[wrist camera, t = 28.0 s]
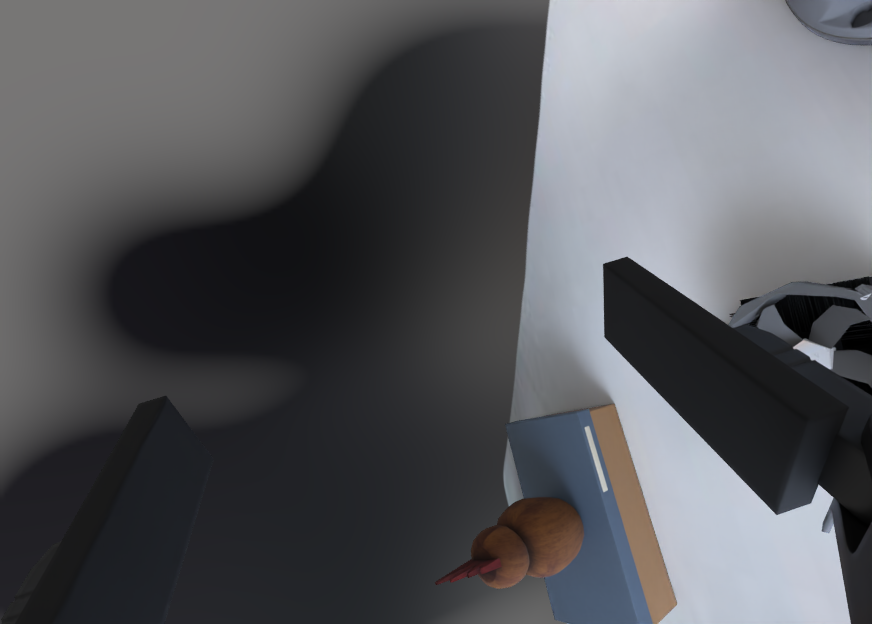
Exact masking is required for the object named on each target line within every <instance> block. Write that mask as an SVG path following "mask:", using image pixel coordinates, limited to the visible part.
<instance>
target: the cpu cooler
mask: <svg viewBox="0 0 872 624" xmlns="http://www.w3.org/2000/svg"><path fill="white" fill-rule="evenodd" d="M740 301H741V306H740V307H739V308H738V310H737V311H736V313H733V314H730V315H733V316H730V317H733V318H732V319H731V321H730V323H729V324H728V325H729V326H730V327H732V328H735V327H739V326H742V325H745V324H747V325H748V324H750V325H755V326H753V327H756V328H759V329H762V330H765V331H767V332H770V333H773V334H774V335H776V336H777V337H779V338H781V339H782V340H784V341H785V342H787V343H788V344H790V345H792V346H793V349H798V350H800V351H801V352H803V353H804V354H806V355H808V356H809V357H810V359H811V360H816V361H817V362H819V363H820V364H822V365H824V366H825V367H827V368H828V369H830V370H831V371H833V372H835V373H836V374H838V375H839V376H841V377H843V378H844V379H846V380H847V381H849V382H851V383H852V384H854V385H855V386H857V387H859V388H860V389H862V390H863V391H865V392H867V393H868V394H870V395H871V396H872V327H870V326H872V323H865V322H872V277H864V278H861V279H855V280H849V281H843V282H837V283H832V284H826V285H825V284H819V283H812V282H791V283H789V284H787V285H785V286H782V287H780V288H778V289H776V290H774V291H772V292H769V293H767V294H765V295H763V296H761V297H755V298H750V299H745V300H740ZM861 311H862V312H861ZM734 314H735V315H734ZM755 319H756V320H755ZM867 320H868V321H867ZM752 321H757V322H752ZM751 323H756V324H751ZM858 323H862V324H858ZM865 325H868V326H865ZM857 326H859V327H857ZM867 331H869V332H867ZM859 332H860V333H859ZM850 333H851V334H850Z"/></svg>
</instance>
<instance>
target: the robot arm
mask: <svg viewBox="0 0 872 624" xmlns="http://www.w3.org/2000/svg"><path fill="white" fill-rule="evenodd" d="M786 2H787V4H788V6H789V8H790V9H791V11H792V12H793V14H794V15H795V16H796V18H797V19H798V20H799V21H800V22H801V23H802V25H804V26H805V27H806V28H807V29H808V30H810V31H811V32H813V33H815V34H816V35H818V36H820V37H822V38H825V39H827V40H831V41H834V42H838V43H843V44H850V45H872V0H786ZM603 276H604V334H605V338H606V339H607V340H608V341H609V342H610V343H611V344H612V346H613V347H614V348H615V349H616V350H617V351H618V352H619V353H620V354H621V355H622V356H623V357H624V358H625V359H626V360H627V361H628V362H629V363H630V364H631V365H632V366H633V367H634V368H635V369H636V370H637V371H638V372H639V373H640V374H641V375H642V376H643V378H644V379H645V380H646V381H647V382H648V383H649V384H650V385H651V386H652V387H653V388H654V389H655V390H656V391H657V392H658V393H659V394H660V395H661V396H662V397H663V398H664V399H665V400H666V401H667V402H668V403H669V404H670V405H671V406H672V407H673V408H674V410H675V411H676V412H677V413H678V414H679V415H680V416H681V417H682V418H683V419H684V420H685V421H686V422H687V423H688V424H689V425H690V426H691V427H692V428H693V429H694V430H695V431H696V432H697V433H698V434H699V435H700V436H701V437H702V438H703V439H704V440H705V442H706V443H707V444H708V445H709V446H710V447H711V448H712V449H713V450H714V451H715V452H716V453H717V454H718V455H719V456H720V457H721V458H722V459H723V460H724V461H725V462H726V463H727V464H728V465H729V466H730V467H731V468H732V469H733V470H734V471H735V472H736V474H737V475H738V476H739V477H740V478H741V479H742V480H743V481H744V482H745V483H746V484H747V485H748V486H749V487H750V488H751V489H752V490H753V491H754V492H755V493H756V494H757V495H758V496H759V497H760V498H761V499H762V500H763V501H764V502H765V503H766V504H767V505H768V507H769V508H770V509H771V510H772V511H773V512H774V513H775V514H776V515H778V514H781V513H784V512H787V511H790V510H792V509H795V508H798V507H801V506H804V505H807V504H810V503H811V502H812V499H813V497H814V494H815V492H816V489H817V487H818V484H819V485H820V486H821V487H822V488H823V489H825V490H826V491H827V492H828V493H829V494H830V495H831V496H833V497H834V498H833V501H832V503H831V505H830V508H829V510H828V512H827V514H826V517H825V519H824V521H823V526H822V532H826V533H829V532H830V530H831V528H832V526H833V523H834V527H835V533H836V539H837V545H838V551H839V556H840V562H841V568H842V574H843V580H844V585H845V591H846V597H847V603H848V609H849V615H850V620H851V624H872V396H871V395H870V394H868V393H867V392H865V391H863V390H862V389H860V388H859V387H857V386H855V385H854V384H852V383H851V382H849V381H847V380H846V379H844V378H843V377H841V376H839V375H838V374H836V373H835V372H833V371H831V370H830V369H828V368H827V367H825V366H824V365H822V364H820V363H819V362H817V361H816V360H811V359H810V357H809V356H808V355H806V354H804V353H803V352H801V351H800V350H798V349H793V346H792V345H790V344H788V343H787V342H785V341H784V340H782V339H781V338H779V337H777V336H776V335H774V334H773V333H770V332H767V331H765V330H762V329H759V328H756V327H753V326H750V325H747V324H745V325H742V326H739V327H735V328H732V327H730V326H729V325H727V324H726V323H724V322H723V321H721V320H720V319H718V318H717V317H715V316H714V315H713V314H711V313H710V312H708V311H707V310H705V309H704V308H702V307H701V306H699V305H698V304H696V303H695V302H693V301H692V300H690V299H689V298H687V297H686V296H685V295H683V294H682V293H680V292H679V291H677V290H676V289H674V288H673V287H671V286H670V285H668V284H667V283H665V282H664V281H662V280H661V279H659V278H658V277H656V276H655V275H654V274H652V273H651V272H649V271H648V270H646V269H645V268H643V267H642V266H640V265H639V264H637V263H636V262H634V261H633V260H631V259H630V258H628V257H625V258H621V259H618V260H615V261H611V262H608V263H605V264H603ZM212 463H213V458H212V457H211V455H210V454H209V452H208V451H207V450H206V448H205V447H204V446H203V444H202V443H201V442H200V440H199V439H198V438H197V436H196V435H195V434H194V432H193V431H192V430H191V428H190V427H189V426H188V424H187V423H186V422H185V421H184V419H183V418H182V416H181V415H180V414H179V412H178V411H177V410H176V408H175V407H174V406H173V405H172V403H171V402H170V400H169V399H168V398H167V396H163V397H160V398H157V399H153V400H150V401H147V402H144V403H140V404H139V405H138V406H137V408H136V410H135V412H134V413H133V415H132V417H131V419H130V421H129V422H128V424H127V426H126V428H125V429H124V431H123V433H122V435H121V437H120V438H119V440H118V442H117V444H116V445H115V447H114V449H113V451H112V453H111V454H110V456H109V458H108V460H107V461H106V463H105V465H104V467H103V469H102V470H101V472H100V474H99V476H98V477H97V479H96V481H95V483H94V485H93V486H92V488H91V490H90V492H89V493H88V495H87V497H86V499H85V500H84V502H83V504H82V506H81V508H80V509H79V511H78V513H77V515H76V516H75V518H74V520H73V522H72V524H71V526H70V527H69V529H68V531H67V532H66V534H65V536H64V538H63V539H62V541H61V542H59V543H56V544H53V545H52V547H51V548H50V549H49V550H48V551H47V552H46V553H45V555H44V556H43V557H42V558H41V559H40V560H39V561H38V562H37V563H36V565H35V566H34V567H33V568H32V569H31V570H30V572H29V574H28V575H27V577H26V579H25V580H24V582H23V584H22V585H21V587H20V589H19V591H18V592H17V594H16V596H15V601H14V602H12V603H11V604H10V606H9V607H8V609H7V611H6V612H5V614H4V616H3V618H2V619H1V620H2V624H164V623H165V619H166V616H167V613H168V609H169V606H170V603H171V600H172V596H173V593H174V590H175V586H176V583H177V580H178V576H179V573H180V570H181V566H182V563H183V560H184V556H185V553H186V549H187V546H188V543H189V539H190V536H191V533H192V529H193V526H194V522H195V519H196V516H197V513H198V509H199V506H200V503H201V499H202V496H203V493H204V489H205V486H206V483H207V479H208V476H209V473H210V469H211V466H212Z"/></svg>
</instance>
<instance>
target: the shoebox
mask: <svg viewBox="0 0 872 624" xmlns="http://www.w3.org/2000/svg"><path fill="white" fill-rule="evenodd" d="M505 426H506V430H507V434H508V438H509V442H510V446H511V450H512V453H513V457H514V461H515V465H516V469H517V473H518V477H519V481H520V485H521V489H522V493H523V497H524V499H525V498H536V497H552V498H559V499H561V500H563V501H565V502H567V503H568V504H570V505H571V506H572V507H574V509H575V510H576V511H577V513H578V514H579V515H580V517H581V520H582V523H583V527H584V538H583V542H582V545H581V549H580V551H579V553H578V554H577V556H576V557H575V558H574V559H573V560H572V561H571V562H570V563H569V564H568V565H567V566H566V567H565V568H564V569H563V570H561V571H560V572H559V573H557V574H555V575H552V576H550V577H544V579H545V583H546V587H547V591H548V595H549V599H550V603H551V607H552V610H553V615H554V618H555V620H558V621H561V622H565V623H568V624H658V623H659V622H660V621H661V620H662V619H663V618H664V617H665V616H666V615H667V614H668V613H669V612H670V611H671V610H672V609H673V608H674V607H675V606H676V605H677V602H676V599H675V596H674V593H673V589H672V586H671V583H670V580H669V577H668V573H667V570H666V567H665V564H664V561H663V557H662V554H661V551H660V548H659V545H658V541H657V538H656V535H655V532H654V529H653V525H652V522H651V519H650V516H649V513H648V509H647V506H646V503H645V500H644V497H643V493H642V490H641V487H640V484H639V481H638V477H637V474H636V471H635V468H634V465H633V461H632V458H631V455H630V452H629V449H628V445H627V442H626V439H625V436H624V433H623V429H622V426H621V423H620V420H619V417H618V413H617V410H616V407H615V404H609V405H603V406H598V407H592V408H586V409H580V410H574V411H568V412H563V413H557V414H551V415H546V416H542V417H537V418H531V419H525V420H519V421H515V422H511V423H508V424H505Z"/></svg>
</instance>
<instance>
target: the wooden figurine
mask: <svg viewBox="0 0 872 624" xmlns="http://www.w3.org/2000/svg"><path fill="white" fill-rule="evenodd" d="M583 538H584V527H583V523H582V520H581V517H580V515H579V514H578V513H577V511H576V510H575V509H574V507H572V506H571V505H570V504H568V503H567V502H565V501H563V500H561V499H559V498H552V497H536V498H525V499H521V500H519V501H517V502H515V503H513V504H512V505H511V506H509V507H508V508H507V509H506V510H505V512H503V513H502V515H501V516H500V517H499V519H498V523H497V525H495V526H492V527H489V528H486V529H485V530H483V531H481V532H480V534H479V535H478V536H477V537H476V538H475V539H474V541H473V545H472V548H471V557H472V559H471V560H470V561H468V562H466V563H464V564H463V565H461V566H460V567H458V568H457V569H455V570H454V571H452V572H451V573H449V574H447V575H446V576H444V577H442V578H441V579H439V580H438V581H436V582H435V584H436V585H437V584H441V583H443V582H446V581H448V580H450V582H454V581H457V580H459V579H462V578H464V577H467V576H468V578H469V577H472V576H475V575H477V574H478V575H479V577H480V578H481V579H482V581H483V582H484V583H486V584H487V585H488V586H490V587H493V588H498V589H501V588H507V587H511V586H513V585H515V584H516V583H518V582H519V581H520V580H521V579H522V578H523V577H524V576H525V574H526V575H530V576H533V577H550V576H552V575H555V574H557V573H559V572H560V571H561V570H563V569H564V568H565V567H566V566H567V565H568V564H569V563H570V562H571V561H572V560H573V559H574V558H575V557H576V556H577V554H578V553H579V551H580V549H581V545H582V542H583Z"/></svg>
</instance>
